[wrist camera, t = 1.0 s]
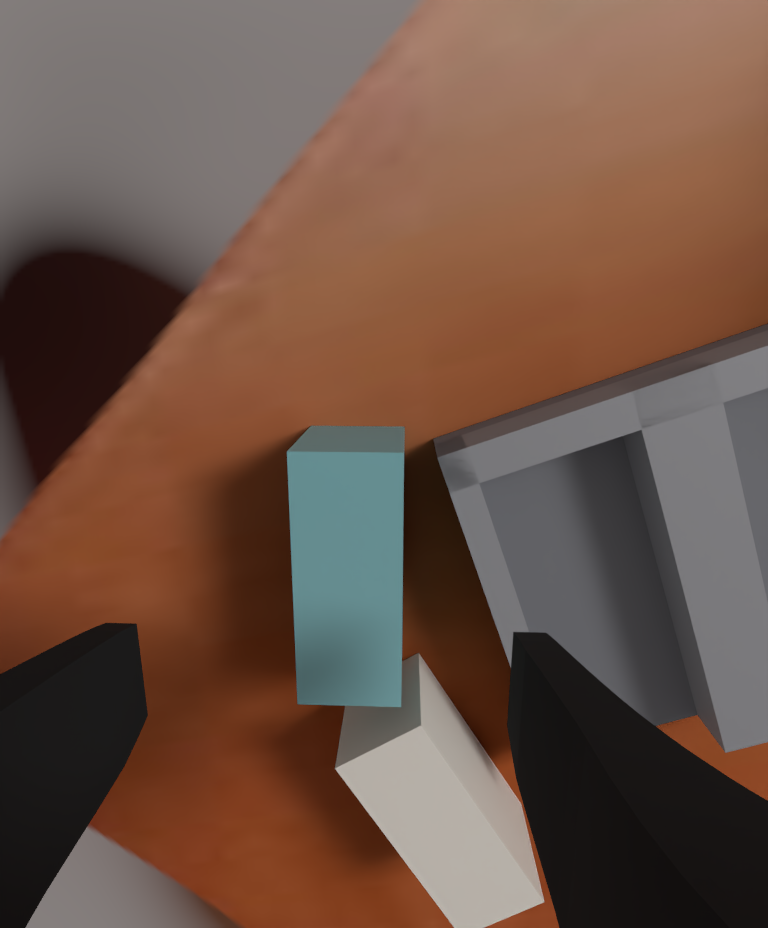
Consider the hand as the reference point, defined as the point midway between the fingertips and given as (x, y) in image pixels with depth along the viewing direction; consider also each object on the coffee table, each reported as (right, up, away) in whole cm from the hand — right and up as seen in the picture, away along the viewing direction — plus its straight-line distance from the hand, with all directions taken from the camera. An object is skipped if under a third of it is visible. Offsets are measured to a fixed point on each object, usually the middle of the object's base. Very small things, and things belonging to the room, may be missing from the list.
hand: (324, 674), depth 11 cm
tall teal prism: (0, +2, +7) cm, 7 cm away
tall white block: (+3, -6, +9) cm, 11 cm away
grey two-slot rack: (+10, +2, +6) cm, 12 cm away
